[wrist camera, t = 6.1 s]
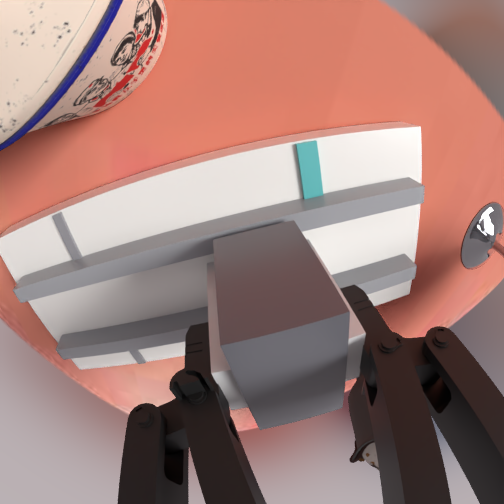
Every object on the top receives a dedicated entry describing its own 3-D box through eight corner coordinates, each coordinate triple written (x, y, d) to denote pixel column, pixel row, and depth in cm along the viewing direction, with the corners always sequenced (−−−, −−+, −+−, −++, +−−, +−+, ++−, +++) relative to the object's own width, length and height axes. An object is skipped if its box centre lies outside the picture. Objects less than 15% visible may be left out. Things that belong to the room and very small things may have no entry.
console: (8, 227, 14) (-19, 253, 11) (400, 121, 15) (437, 131, 12) (85, 351, 20) (76, 384, 17) (396, 278, 21) (419, 306, 18)
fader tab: (212, 224, 14) (220, 345, 7) (284, 206, 14) (349, 311, 7) (239, 313, 17) (259, 429, 11) (298, 298, 17) (342, 407, 11)
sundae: (310, 340, 23) (372, 512, 10) (383, 313, 23) (470, 461, 10) (318, 379, 26) (365, 515, 13) (379, 356, 26) (441, 479, 13)
